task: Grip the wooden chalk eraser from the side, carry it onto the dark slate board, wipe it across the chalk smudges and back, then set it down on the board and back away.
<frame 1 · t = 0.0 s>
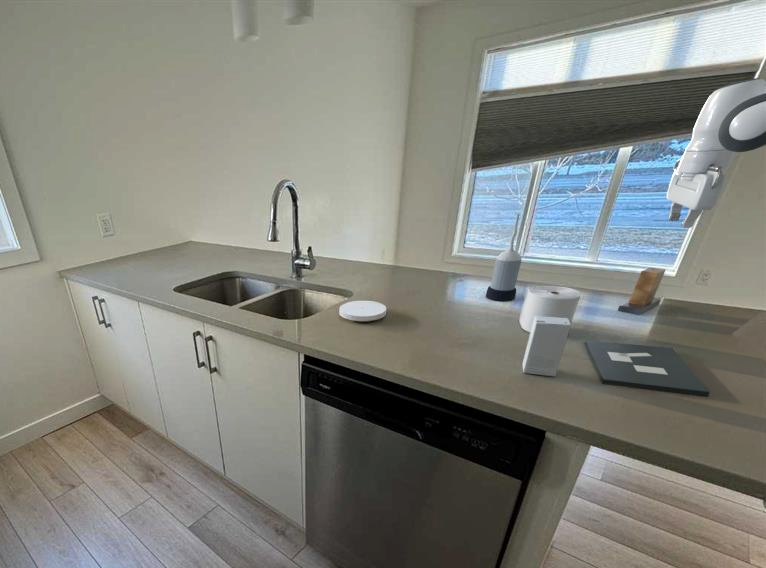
hand: (679, 223, 105), 22 cm above the worktop, tool pointing down, fingers open, 8 cm apart
toilet tissue: (540, 328, 107), on the worktop
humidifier: (499, 297, 129), on the worktop
eraser: (638, 307, 114), on the worktop
plastic lid: (362, 316, 125), on the worktop
cosmetic box: (537, 372, 89), on the worktop
slate board: (637, 366, 87), on the worktop
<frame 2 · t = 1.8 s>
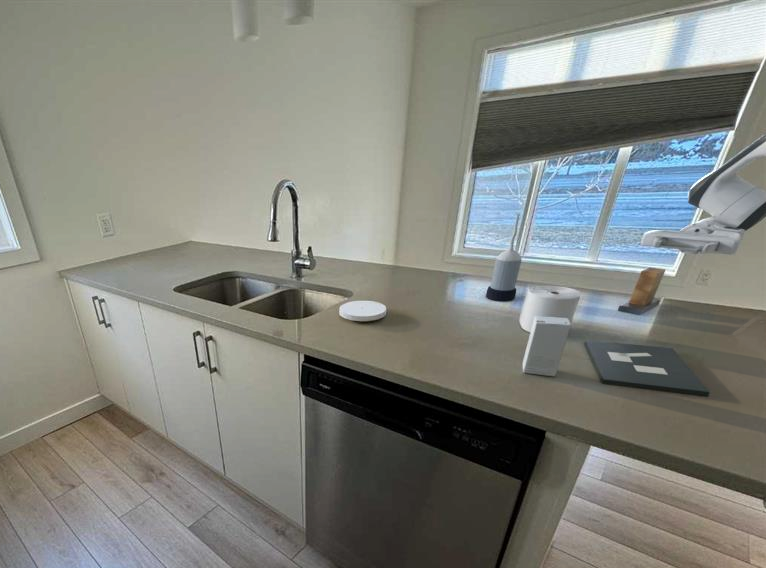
hand: (678, 246, 111), 15 cm above the worktop, tool horizontal, fingers open, 8 cm apart
nothing on the worktop moved.
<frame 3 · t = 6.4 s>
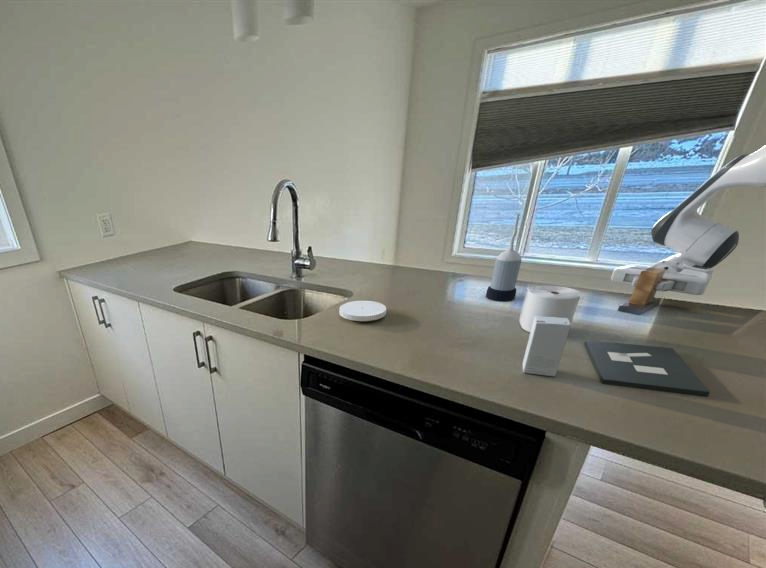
hand: (646, 285, 110), 7 cm above the worktop, tool horizontal, fingers closed on eraser, 3 cm apart
eraser: (638, 307, 114), on the worktop, touching gripper
everything else where it was.
when the fingers open (7 cm above the worktop, at t = 19.6 s): eraser stays where it is, resting on slate board.
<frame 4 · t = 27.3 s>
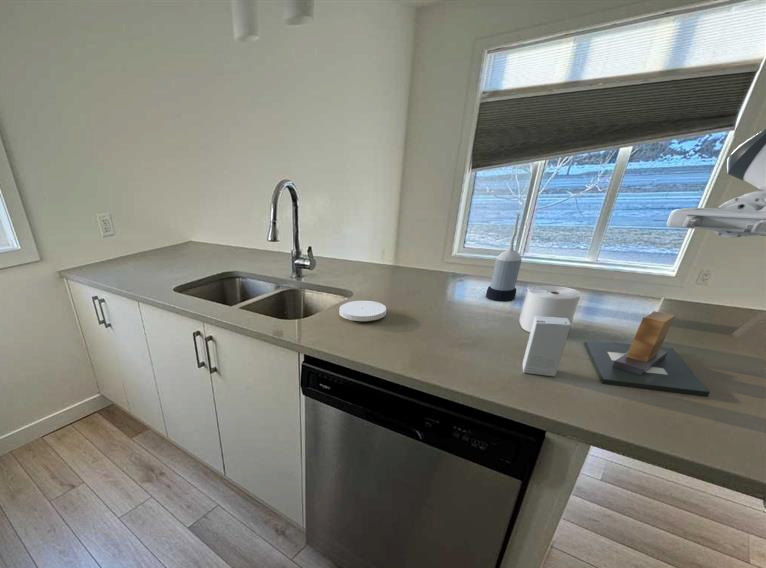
hand: (718, 226, 86), 25 cm above the worktop, tool horizontal, fingers open, 8 cm apart
eraser: (638, 362, 86), point 1 cm above the worktop, touching slate board
everything else where it was.
at the end: eraser inside the target area on the slate board (0.2 cm from its centre), point 1.0 cm above the slate board's base; eraser moved 41.0 cm from its start; eraser tilted 0° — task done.
